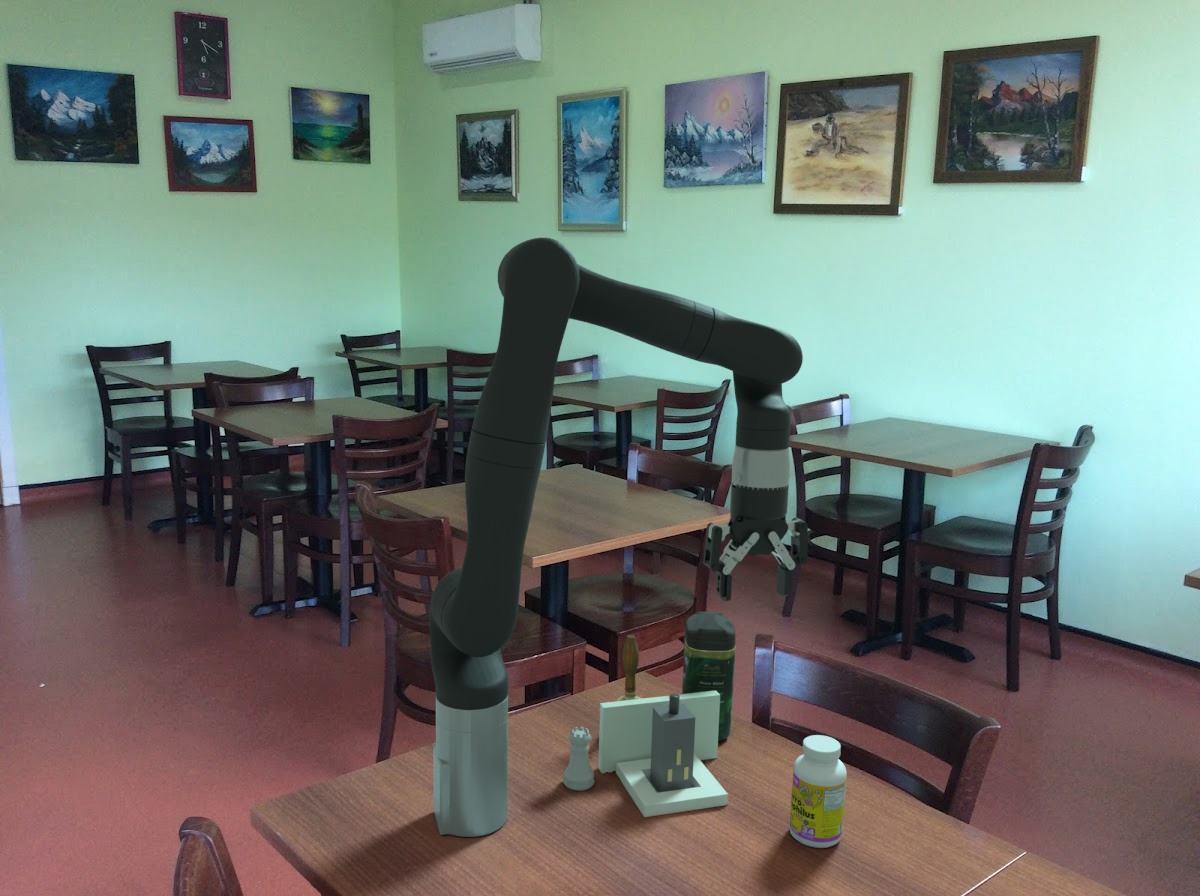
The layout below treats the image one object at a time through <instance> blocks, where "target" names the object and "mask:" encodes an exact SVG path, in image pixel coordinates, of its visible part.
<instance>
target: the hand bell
mask: <svg viewBox="0 0 1200 896" xmlns="http://www.w3.org/2000/svg"><path fill="white" fill-rule="evenodd" d="M639 651H640V650H639V646H638V643H637V640H636V636H635V635H634V634H628V635H626V638H625V642H624V645H623V649H622V652H621V653H622V666H623V670H624V673H625V678H624V679H625V683H624V684H625V685H624V695H622V696H619V697H618V698H617V699H616V701H625V700H634V699H643V697H640V696H638V695H637V690H636V689H637V688H636V686H637V685H636V674H637V673H636V672H637V670H638V666H639V662H640V661H639V660H640V652H639Z"/></svg>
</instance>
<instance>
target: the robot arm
mask: <svg viewBox="0 0 1200 896" xmlns="http://www.w3.org/2000/svg"><path fill="white" fill-rule="evenodd" d="M497 283H498V288H499V290H500V293H501V295H502V297H503V304H502V305H503V306H502V316H501V323H500V330H499V339H498V345H497V349H496V353H495V355H494V356H495V357H494V359H493V363H492V365H491V367H490V370H489V374H488V375H487V378H486V381H485V383H484V386H483V389H482V391H481V395H480V397H479V401H478V404H477V408H476V410H475V413H474V418H473V422H472V426H471V431H470V435H469V441H468V447H467V453H466V460H465V468H464V469H465V470H464V471H465V472H464V491H465V492H464V494H465V508H466V523H467V536H466V537H467V540H466V548H465V553H464V557H463V562H462V566H461V567H458V568H456V569H452V570H451V571H450V572H449V571H448V573H446V574H445V575H444V576H442V578H441V579H440V580H439V581H438V582H437V584H436V586H435V588H434V590H433V592H432V595H431V599H430V605H429V631H430V632H429V634H430V635H429V636H430V637H429V638H430V639H429V640H430V641H429V642H430V660H431V670H432V673H433V674H432V675H433V679H434V686H435V744H434V745H433V747H432V748H433V750H432V751H433V753H432V754H433V755H432V757H433V759H432V761H433V762H432V763H433V764H432V765H433V767H432V768H433V771H432V772H433V780H432V781H433V783H432V785H433V814H434V817H435V821H436V824H437V828H438V833H439V834H440V835H441V836H442V835H451V836H456V837H465V838H468V837H469V838H474V837H480V836H482V837H483V836H485V835H489V834H491V833H493V832H496V831H498V830H499V829H501V828H502V827H503V826H504V825H505V823H506V822H507V819H508V804H509V803H508V802H509V801H508V780H509V779H508V777H509V775H508V772H509V771H508V770H509V768H508V767H509V766H508V765H509V764H508V760H509V759H508V757H509V756H508V755H509V749H508V746H509V674H508V671H507V669H506V665H505V663H504V658H503V654H502V649H501V648H502V647H504V646H505V644H506V643H507V642H508V641H509V640H510V638H511V636H512V634H513V633H514V630H515V627H516V624H517V619H518V612H519V605H520V604H519V603H520V592H521V591H520V590H521V580H522V578H521V577H522V568H523V559H524V558H523V557H524V551H525V544H526V540H527V534H528V530H529V527H530V521H531V518H532V517H531V516H532V513H533V507H534V501H535V497H536V492H537V486H538V482H539V479H540V474H541V469H542V464H543V460H544V454H545V448H546V442H547V437H548V432H549V426H550V419H551V412H552V405H553V404H552V403H553V399H554V398H553V396H554V388H555V380H556V370H557V365H558V360H559V354H560V351H561V347H562V344H563V343H562V342H563V339H564V336H565V332H566V330H567V327H568V323H569V320H574V321H579V322H582V323H587V324H591V325H594V326H597V327H601V328H604V329H607V330H609V331H610V330H611V331H613V332H616V333H619V334H621V335H624V336H627V337H629V338H632V339H635V340H637V341H640V342H642V343H644V344H647V345H650V346H653V347H655V348H657V349H658V348H659V349H660V350H663V351H666V352H669V353H672V354H674V355H678V356H682V357H684V358H687V359H690V360H694V361H696V362H699V363H704V364H710V365H714V366H718V367H722V368H724V369H727V370H730V371H731V372H732V378H733V387H734V388H733V389H734V395H735V396H734V397H735V401H736V402H735V403H736V410H737V416H736V421H735V422H736V423H735V424H736V425H735V445H734V452H733V456H732V457H733V458H732V465H731V467H732V468H731V486H730V504H729V507H730V508H729V510H730V513H729V514H730V517H729V518H730V519H729V522H727V524H716V523H715V522H709V523H708V524H707V525H706V532H705V540H704V541H705V543H704V549H703V550H704V553H703V560H702V561H703V563H702V564H703V565H704V566H705V567H707V568H708V569H710V570H711V571H713V572H716V586H715V588H716V589H715V591H716V594H717V595H719V598H720V599H721V600H723V601H724V602H729V601H731V600H732V585H733V584H732V582H733V574H732V571H733V570H734V568H735V567H736V565H737V564H738V563H740V562H742V560H743V559H744V558H745V556H746V555H747V557H754V556H757V555H763V556H764V555H765V556H768V555H769V556H770V555H771V554H772V555H773V557H775V559H776V560H777V562H778V563H779V565H778V566H777V575H776V592H777V594H779V595H780V596H782V597H786V596H789V593H790V592H791V590H792V589H793V579H794V569H795V567H797V566H799V565H806V564H807V562H808V553H809V552H808V550H809V549H808V546H809V545H808V533H809V531H808V530H809V529H808V527H809V525H808V523H807V522H806V521H804V520H803V519H800V518H799V517H793V518H792V519H791V520H788V521H787V518H786V517H787V514H788V503H789V488H790V477H791V473H790V472H791V467H790V466H791V462H790V461H791V460H790V437H791V420H792V419H791V410H790V409H789V406H788V405H787V404H786V403H785V401H784V398H783V384H785V383H787V382H789V381H791V380H793V378H795V377H796V376H797V374H798V373H799V372H800V370H801V368H802V365H803V360H804V357H803V356H804V355H803V351H802V348H801V346H800V344H799V342H798V340H797V339H796V338H795V337H794V336H793V335H792V334H791V333H789V332H787V331H785V330H782V329H778V328H775V327H774V326H769V325H765V324H762V323H758V322H756V321H755V322H754V321H751V320H747V319H743V318H740V317H735V316H733V315H730V314H728V313H726V312H723V311H722V310H719V309H717V308H715V307H712V306H709V305H706V304H703V303H700V302H698V301H695V300H692V299H688V298H685V297H682V296H679V295H675V294H673V293H669V292H664V291H660V290H656V289H652V288H648V287H643V286H639V285H635V284H632V283H631V284H630V283H628V282H624V281H620V280H618V279H614V278H612V277H611V278H610V277H608V276H605V275H603V274H600V273H598V272H595V271H593V270H590V269H589V268H586V267H584V266H582V265H581V264H578V262H577V260H576V257H575V255H574V254H573V252H572V251H571V250H570V249H569V248H568V246H566V245H564V244H563V243H562V242H561V241H559V240H556V239H554V238H551V237H534V238H531V239H528V240H524V241H522V242H520V243H519V244H517V245H515V246H513V247H512V248H511V249H510V250H509V251H508V252H507V253H505V255H504V256H503V258H502V259H501V262H500V263H499V266H498V269H497ZM787 533H788V534H789V535H790V553H789V550H787V548H786V546H785V545H784V544H783V542H782V539H784V537H785V535H787ZM727 535H728V536H729V537H730V540H729V542H728V543H727V544H726V546H725V547H724V549H723V553H722V555H721V550H722V542H723V541H725V538H726V536H727Z"/></svg>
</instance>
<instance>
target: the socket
mask: <svg viewBox="0 0 1200 896" xmlns="http://www.w3.org/2000/svg"><path fill="white" fill-rule="evenodd" d="M678 695H679V696H680V701H679V704H684V705H685V707H686V708H687V709H688V710H689V711H690V712H691V713H692V714H693V715H694V717H695V738H694V760H693V782H692V788H688V789H681V790H674V791H667V792H658V790H657V789H656V788H655V786H654V785H653V783H652V782H651V781H650V772H651V745H652V718H653V707H658V706H667V705H669V696H670V695H662V696H652V697H646V698H645V697H644V698H643V697H642V699H634V700H625V701H617V700H616V701H607V702H600V703H599V727H598V728H599V730H598V735H599V736H598V767H597V768H598V770H599V771H600V773H601V774H606V773H605V772H608V773H613V771H615V774H616V775H617V777H618V778H620V779H619V780H620V782H621V784H622V785H623V787H624V788H625V790H626V791H627V792H628V794H629V796H630V797H631V799H632V800H633V802H634V803H635V805H636V807H637V808H638V809H639V811H640V814H642V816H643V817H644V818H648V817H649V818H650V817H655V816H661V815H668V814H669V815H670V814H675V813H682V812H683V813H684V812H688V811H695V810H701V809H702V810H703V809H709V808H714V807H715V808H716V807H722V806H728V805H729V804H728V803H729V802H728V801H729V793H728V792H727V791H726V790H725V788H724V787H723V786H722V785H721V783H720V782H719V781H718V780H717V779H716V777H715V776H714V775H713V774H712V773H711V772H710V770H709V769H708V768H707V767H706V765H705V764H704V763H703V762H702V761H703V760H712V759H717V758H718V750H719V748H718V747H719V740H718V730H719V710H720V694H719V693H718V692H717V691H707V692H698V693H689V694H682V693H681V694H678Z"/></svg>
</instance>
